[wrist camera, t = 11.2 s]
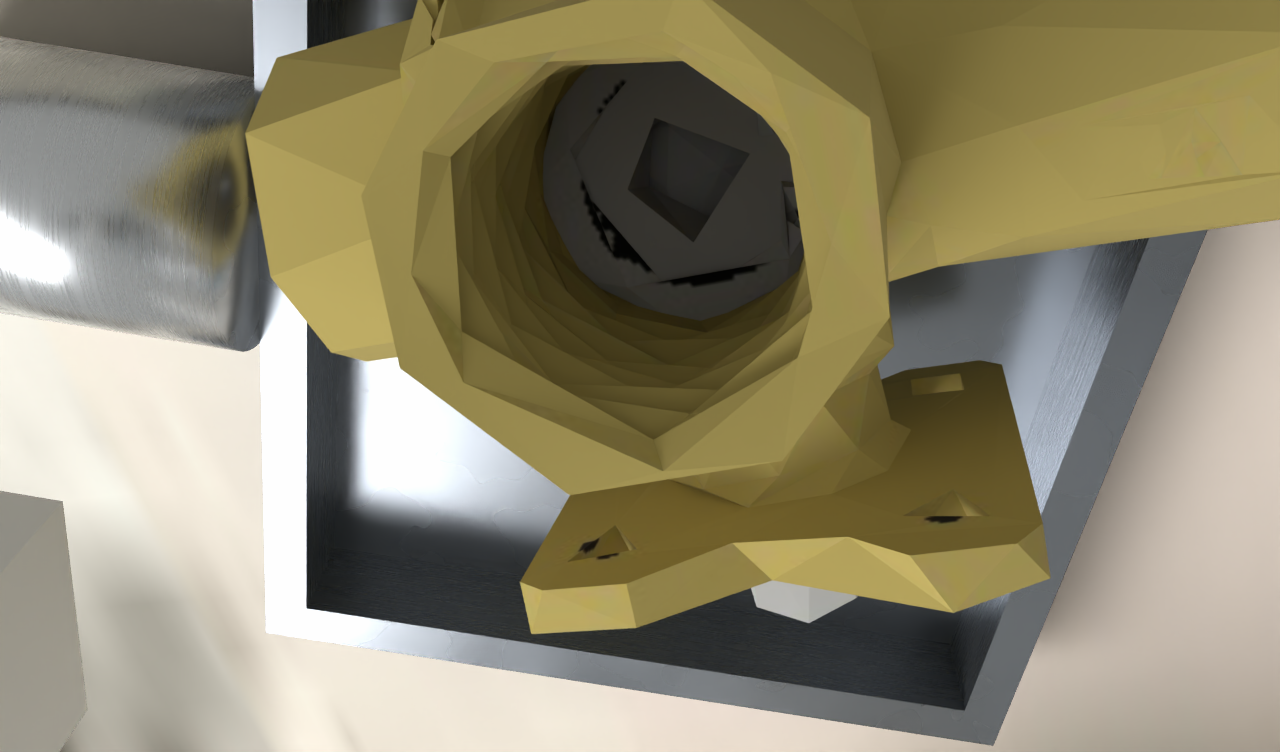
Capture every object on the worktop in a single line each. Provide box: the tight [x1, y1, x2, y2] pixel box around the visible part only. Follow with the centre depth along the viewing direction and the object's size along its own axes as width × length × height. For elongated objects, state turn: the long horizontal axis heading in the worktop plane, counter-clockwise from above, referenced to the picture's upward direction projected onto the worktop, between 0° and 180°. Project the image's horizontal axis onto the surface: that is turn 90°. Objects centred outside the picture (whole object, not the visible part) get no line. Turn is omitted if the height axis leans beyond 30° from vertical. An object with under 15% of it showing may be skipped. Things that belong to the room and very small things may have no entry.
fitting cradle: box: [0, 0, 1208, 746], centre depth 20 cm, size 21×18×4 cm
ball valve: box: [245, 0, 1280, 634], centre depth 15 cm, size 13×10×10 cm
